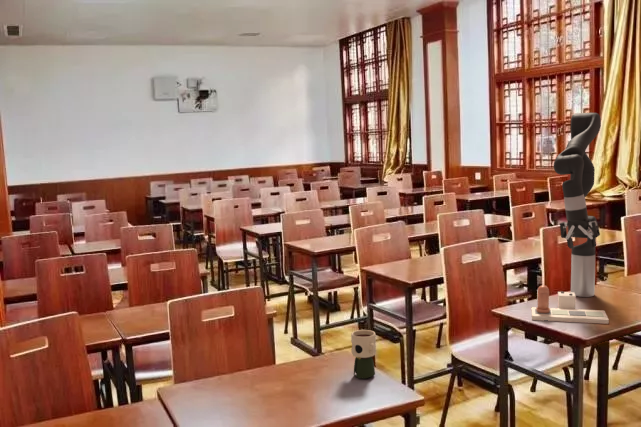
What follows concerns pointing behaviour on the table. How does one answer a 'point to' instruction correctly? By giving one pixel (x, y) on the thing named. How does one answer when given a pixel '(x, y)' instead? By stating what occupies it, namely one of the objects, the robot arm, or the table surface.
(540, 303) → the pawn
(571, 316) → the game board
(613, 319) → the table surface
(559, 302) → the die
